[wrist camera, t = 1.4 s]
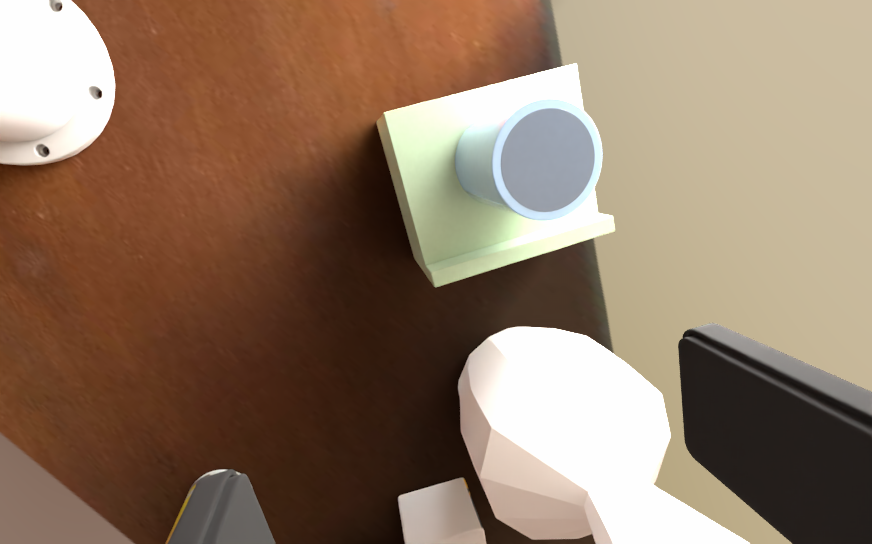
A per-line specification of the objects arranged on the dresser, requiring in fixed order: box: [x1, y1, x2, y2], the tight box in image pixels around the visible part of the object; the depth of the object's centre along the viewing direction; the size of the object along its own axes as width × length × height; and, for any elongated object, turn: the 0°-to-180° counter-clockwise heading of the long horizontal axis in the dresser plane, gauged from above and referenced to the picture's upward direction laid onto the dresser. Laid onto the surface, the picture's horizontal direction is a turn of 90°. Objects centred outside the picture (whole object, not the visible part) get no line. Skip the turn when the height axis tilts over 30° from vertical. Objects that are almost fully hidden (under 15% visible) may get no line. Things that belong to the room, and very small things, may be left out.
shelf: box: [376, 63, 615, 287], centre depth 34 cm, size 12×14×9 cm
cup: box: [455, 98, 602, 221], centre depth 27 cm, size 6×6×8 cm
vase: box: [458, 327, 750, 544], centre depth 31 cm, size 14×14×25 cm
